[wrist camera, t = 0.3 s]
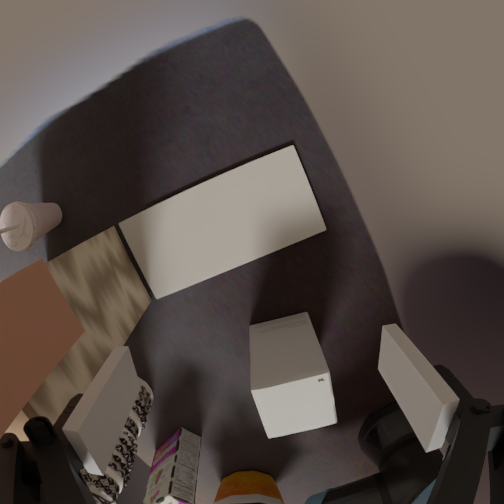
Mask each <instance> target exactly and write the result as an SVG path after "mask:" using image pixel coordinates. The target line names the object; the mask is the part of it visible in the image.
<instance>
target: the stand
mask: <svg viewBox="0 0 504 504" xmlns="http://www.w3.org/2000/svg"><path fill="white" fill-rule="evenodd" d="M46 266H47V268H48V270H49V271H50V273H51V275H52V277H53V279H54V280H55V282H56V284H57V286H58V287H59V289H60V291H61V293H62V294H63V296H64V298H65V299H66V301H67V303H68V304H69V306H70V308H71V309H72V311H73V312H74V314H75V316H76V317H77V319H78V320H79V322H80V323H81V325H82V327H83V328H84V330H85V332H84V333H83V334H82V335H81V336H80V338H79V339H78V340H77V341H76V342H75V344H74V345H73V346H72V347H71V348H70V349H69V351H68V352H67V353H66V354H65V356H64V357H63V358H62V359H61V360H60V362H59V363H58V364H57V365H56V366H55V368H54V369H53V370H52V371H51V373H50V374H49V375H48V376H47V378H46V379H45V380H44V381H43V383H42V384H41V385H40V387H39V388H38V389H37V390H36V392H35V393H34V394H33V395H32V397H31V398H30V399H29V401H28V402H27V403H26V405H25V406H24V407H23V409H22V410H21V411H20V413H19V414H18V415H17V417H16V418H15V419H14V421H13V422H12V423H11V425H10V426H9V427H8V429H7V430H6V432H5V433H14V434H16V436H17V437H18V439H19V440H20V441H29V439H28V437H27V436H26V434H25V432H24V431H23V427H24V425H25V423H26V422H27V421H28V420H29V419H31V418H33V417H37V416H45V417H47V418H48V419H49V420H50V422H51V424H52V425H54V424H55V422H56V421H57V419H58V417H59V416H60V414H61V413H62V411H63V410H64V408H66V405H67V404H68V402H69V401H70V399H72V398H73V397H74V396H75V395H77V394H78V393H80V394H84V393H85V391H86V390H87V388H88V387H89V385H90V384H91V382H92V381H93V379H94V378H95V376H96V375H97V373H98V372H99V370H100V369H101V367H102V366H103V364H104V363H105V361H106V360H107V358H108V357H109V355H110V354H111V352H112V351H113V349H114V348H115V346H123V345H124V344H125V342H126V341H127V339H128V337H129V336H130V334H131V332H132V331H133V329H134V328H135V326H136V324H137V323H138V321H139V320H140V318H141V317H142V315H143V313H144V312H145V310H146V309H147V307H148V306H149V304H150V302H151V301H152V299H151V298H150V296H149V294H148V292H147V290H146V288H145V286H144V285H143V283H142V281H141V279H140V277H139V275H138V273H137V271H136V269H135V267H134V265H133V263H132V261H131V259H130V257H129V255H128V253H127V251H126V249H125V247H124V245H123V243H122V241H121V239H120V237H119V235H118V233H117V231H116V229H115V226H113V227H111V228H109V229H107V230H105V231H103V232H101V233H99V234H97V235H96V236H94V237H92V238H90V239H88V240H86V241H85V242H83V243H81V244H79V245H77V246H75V247H74V248H72V249H70V250H68V251H66V252H65V253H63V254H61V255H59V256H58V257H56V258H54V259H52V260H51V261H49V262H47V263H46Z"/></svg>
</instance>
